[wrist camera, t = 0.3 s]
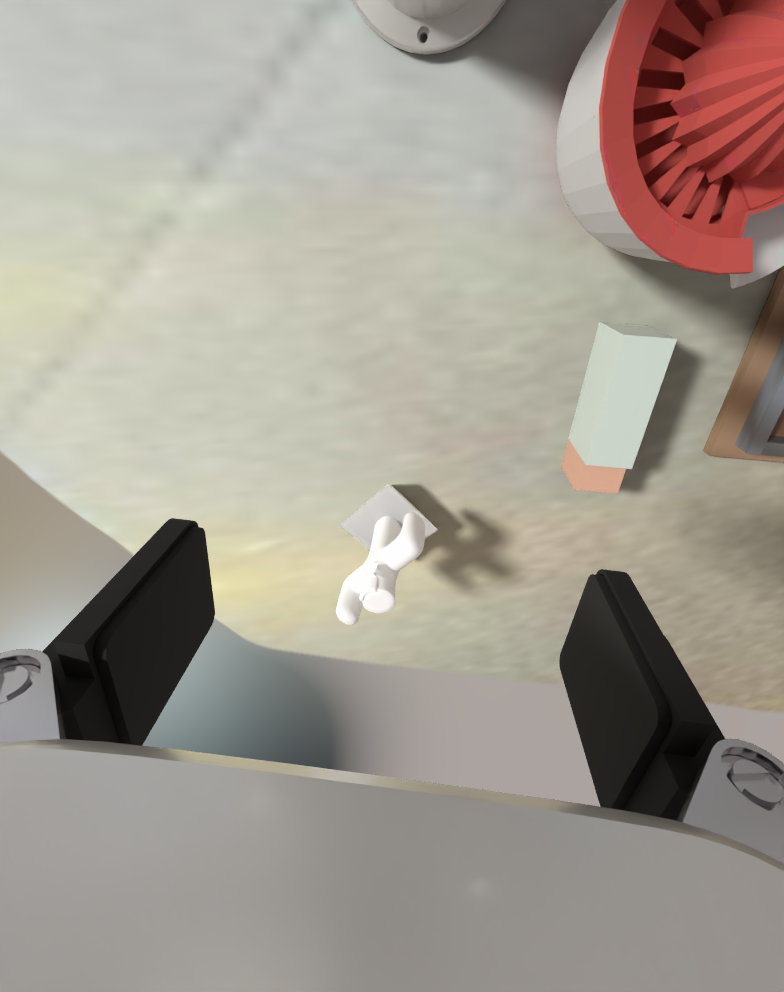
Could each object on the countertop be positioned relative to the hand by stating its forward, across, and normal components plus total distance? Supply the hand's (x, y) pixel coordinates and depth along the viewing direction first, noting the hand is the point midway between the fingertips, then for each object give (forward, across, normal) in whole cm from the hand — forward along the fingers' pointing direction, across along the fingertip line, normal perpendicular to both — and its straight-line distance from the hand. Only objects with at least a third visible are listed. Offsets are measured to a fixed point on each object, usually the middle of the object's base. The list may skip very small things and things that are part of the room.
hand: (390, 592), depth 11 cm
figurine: (+36, +1, +19) cm, 41 cm away
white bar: (+36, -17, +4) cm, 40 cm away
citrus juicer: (+36, -15, -15) cm, 41 cm away
